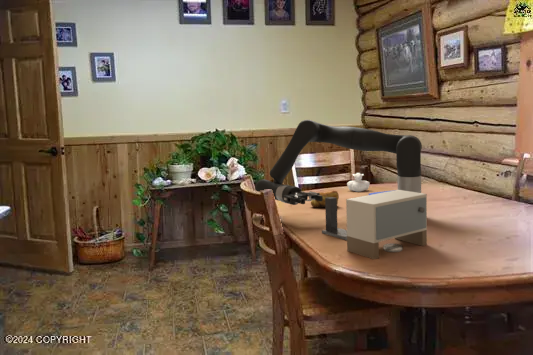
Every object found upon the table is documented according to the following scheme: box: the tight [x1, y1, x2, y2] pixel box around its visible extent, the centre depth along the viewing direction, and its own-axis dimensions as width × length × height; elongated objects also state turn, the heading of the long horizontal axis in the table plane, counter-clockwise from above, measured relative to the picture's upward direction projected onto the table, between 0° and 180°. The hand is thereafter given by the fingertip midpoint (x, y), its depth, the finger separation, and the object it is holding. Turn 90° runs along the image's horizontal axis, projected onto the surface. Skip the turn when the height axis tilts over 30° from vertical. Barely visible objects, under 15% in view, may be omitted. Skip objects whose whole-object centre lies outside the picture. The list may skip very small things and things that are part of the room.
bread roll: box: [310, 190, 339, 209], centre depth 236 cm, size 13×10×8 cm
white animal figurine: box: [346, 172, 371, 193], centre depth 271 cm, size 12×8×11 cm
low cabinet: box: [345, 189, 428, 260], centre depth 164 cm, size 14×24×17 cm, turn 123°
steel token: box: [382, 242, 404, 253], centre depth 164 cm, size 6×6×2 cm
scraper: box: [321, 197, 347, 241], centre depth 181 cm, size 20×7×13 cm, turn 33°
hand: (313, 200), depth 196 cm, fingers open, 8 cm apart
